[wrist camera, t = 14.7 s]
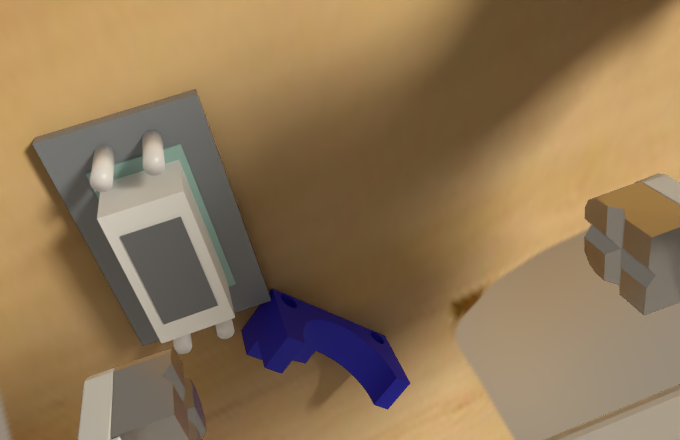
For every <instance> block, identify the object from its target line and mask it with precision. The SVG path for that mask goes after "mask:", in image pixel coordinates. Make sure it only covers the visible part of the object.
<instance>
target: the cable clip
mask: <svg viewBox="0 0 680 440" xmlns="http://www.w3.org/2000/svg"><path fill="white" fill-rule="evenodd" d="M269 295H270V299H271V301H268V302H266V303H263V304H260V306H259V307H258V308H257V310H256V311H255V312H254V314H253V315H252V317H251V318H250V319H249V321H248V322H247V323H246V325H245V326H244V327H243V329H242V330H241V331H242V336H243V340H244V345H245V349H246V353H247V355H250V356H252V357H255V358H258V359H261V360H263V363H264V367H265V368H267V369H270V370H273V371H276V372H279V373H283V371H284V370H285V369H286V368H287V366H288V365H289V364H290V362H291V361H298V362H302V363H306V362H307V361H308V359H309V358H310V357H311V356H312V354H313V353H314V352H315V351H318V352H320V353H322V354H324V355H326V356H328V357H330V358H331V359H333V360H334V361H336V362H337V363H339V364H340V365H341V366H343V367H344V368H345V369H346V370H348V371H349V372H350V373H351V374H352V375H353V376H354V377H355V378H356V379H357V380H358V381H359V383H360V384H361V385H362V386H363V387H364V389H365V390H366V392H367V393H368V395H369V396H370V398H371V400H372V402H373V404H374V405H376V406H379V407H382V408H385V409H389V407H390V406H391V405H392V404H393V403H394V402H395V400H396V399H397V398H398V397H399V396H400V395H401V393H402V392H403V391H404V390H405V389H406V388H407V386H408V385H409V384H410V382H409V380H408V378H407V376H406V374H405V372H404V371H403V369H402V367H401V365H400V363H399V361H398V359H397V358H396V356H395V354H394V352H393V350H392V348H391V346H390V344H389V343H388V341H387V339H386V337H385V336H384V335H381V334H379V333H377V332H374V331H372V330H370V329H367V328H365V327H362V326H360V325H358V324H355V323H353V322H351V321H348V320H346V319H343V318H341V317H339V316H336V315H334V314H332V313H329V312H327V311H325V310H322V309H320V308H317V307H315V306H313V305H310V304H308V303H306V302H303V301H301V300H298V299H296V298H294V297H291V296H289V295H287V294H284V293H282V292H280V291H277V290H275V289H271V291H270V292H269Z"/></svg>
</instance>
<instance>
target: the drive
mask: <svg viewBox="0 0 680 440" xmlns="http://www.w3.org/2000/svg"><path fill="white" fill-rule="evenodd" d="M97 220H98V222H99V224H100V226H101V228H102V230H103V232H104V234H105V235H106V237H107V239H108V241H109V243H110V245H111V247H112V249H113V251H114V253H115V255H116V257H117V259H118V261H119V263H120V264H121V266H122V268H123V270H124V272H125V274H126V276H127V278H128V280H129V282H130V284H131V286H132V288H133V290H134V292H135V293H136V295H137V297H138V299H139V301H140V303H141V305H142V307H143V309H144V311H145V313H146V315H147V317H148V319H149V321H150V322H151V324H152V326H153V328H154V330H155V332H156V334H157V336H158V338H159V340H160V342H161V344H162V343H165V342H168V341H171V340H174V339H176V338H179V337H182V336H185V335H188V334H191V333H193V332H196V331H199V330H202V329H205V328H208V327H210V326H213V325H216V324H219V323H222V322H225V321H227V320H230V319H233V318H235V314H234V310H233V305H232V301H231V296H230V291H229V287H228V282H227V278H226V276H225V273H224V271H223V268H222V266H221V263H220V261H219V258H218V256H217V253H216V251H215V248H214V246H213V243H212V241H211V238H210V236H209V233H208V231H207V228H206V226H205V223H204V221H203V218H202V216H201V213H200V211H199V208H198V206H197V203H196V201H195V198H194V196H193V193H192V191H191V188H190V186H189V183H188V181H187V178H186V176H185V173H184V171H183V168H182V166H181V163H180V161H179V160H176V161H173V162H169V163H166V164H165V169H164V171H163V172H162V173H161V174H159V175H155V176H153V175H149V174H147V173H146V172H145V171H141V172H137V173H134V174H131V175H128V176H125V177H122V178H118V179H115V180H113V185H112V187H111V189H110V190H108V191H106V192H100V197H99V205H98V214H97Z"/></svg>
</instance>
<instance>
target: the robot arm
mask: <svg viewBox="0 0 680 440" xmlns="http://www.w3.org/2000/svg"><path fill="white" fill-rule="evenodd" d="M585 219H586V220H587V221H588V222H589V223H590V224H591V227H590V228H589V230H588V232H587V233H586V235H585V237H584V249H585V250H584V251H585V254H586V256H587V259H588V261H589V264H590V266H591V267H592V268H593V270H594V271H595V273H596V274H597V275H598V276H600V277H601V278H602V279H603V280H604V281H607V282H611V283H614V284H618V285H619V292H620V295H621V296H622V297H623V298H624V299H626V300H627V301H628V302H629V303H630V304H631V305H632V306H634V307H635V308H636V309H637V310H638V311H639V312H641V313H642V314H643V315H647V314H650V313H652V312H655V311H658V310H661V309H664V308H666V307H669V306H672V305H674V304H678V303H680V182H678V181H677V180H675V179H673V178H671V177H670V176H668V175H665V174H656V175H653V176H650V177H648V178H645V179H642V180H640V181H637V182H635V183H634V184H631V185H628V186H625V187H623V188H620V189H617V190H614V191H612V192H609V193H606V194H603V195H601V196H598V197H595V198H592V199H590V200H588V202H587V204H586V207H585ZM205 432H206V425H205V418H204V414H203V410H202V406H201V402H200V399H199V397H198V394H197V391H196V389H195V387H194V385H193V383H192V381H191V380H189V379H187V378H185V377H184V372H183V363H182V361H181V359H180V357H179V356H178V354H177V352H176V350H174V349H173V348H170V349H167V350H164V351H161V352H158V353H155V354H152V355H149V356H146V357H143V358H140V359H137V360H134V361H131V362H128V363H125V364H122V365H119V366H117V367H116V368H112V369H109V370H106V371H103V372H100V373H97V374H94V375H91V376H88V377H87V379H86V380H85V382H84V385H83V394H82V403H81V413H80V422H79V431H78V440H203V439H202V438H203V436H204V434H205ZM545 440H680V384H679V385H676V386H674V387H671V388H669V389H666V390H664V391H661V392H659V393H657V394H655V395H652V396H649V397H647V398H644V399H642V400H640V401H637V402H635V403H632V404H630V405H627V406H625V407H623V408H620V409H618V410H615V411H613V412H610V413H608V414H605V415H603V416H601V417H598V418H596V419H594V420H591V421H589V422H586V423H583V424H581V425H579V426H576V427H574V428H571V429H569V430H566V431H564V432H562V433H559V434H557V435H554V436H552V437H549V438H547V439H545Z"/></svg>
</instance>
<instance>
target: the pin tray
mask: <svg viewBox="0 0 680 440" xmlns="http://www.w3.org/2000/svg"><path fill="white" fill-rule="evenodd" d="M32 145H33V146H34V148H35V150H36V152H37V154H38V156H39V157H40V159H41V161H42V163H43V165H44V166H45V168H46V170H47V172H48V174H49V176H50V177H51V179H52V181H53V183H54V185H55V187H56V188H57V190H58V192H59V194H60V196H61V198H62V199H63V201H64V203H65V205H66V207H67V208H68V210H69V212H70V214H71V216H72V218H73V219H74V221H75V223H76V225H77V227H78V229H79V230H80V232H81V234H82V236H83V238H84V240H85V241H86V243H87V245H88V247H89V249H90V250H91V252H92V254H93V256H94V258H95V260H96V261H97V263H98V265H99V267H100V269H101V271H102V272H103V274H104V276H105V278H106V280H107V282H108V283H109V285H110V287H111V289H112V291H113V292H114V294H115V296H116V298H117V300H118V302H119V303H120V305H121V307H122V309H123V311H124V313H125V314H126V316H127V318H128V320H129V322H130V324H131V325H132V327H133V329H134V331H135V333H136V334H137V336H138V338H139V340H140V342H141V344H142V345H143V346H144V345H147V344H150V343H153V342H156V341H158V340H159V338H158V336H157V334H156V332H155V330H154V328H153V326H152V324H151V322H150V321H149V319H148V317H147V315H146V313H145V311H144V309H143V307H142V305H141V303H140V301H139V299H138V297H137V295H136V293H135V292H134V290H133V288H132V286H131V284H130V282H129V280H128V278H127V276H126V274H125V272H124V270H123V268H122V266H121V264H120V263H119V261H118V259H117V257H116V255H115V253H114V251H113V249H112V247H111V245H110V243H109V241H108V239H107V237H106V235H105V234H104V232H103V230H102V228H101V226H100V224H99V222H98V220H97V214H98V205H99V197H100V192H106V191H108V190H110V189H111V187H112V185H113V180H115V179H118V178H122V177H125V176H128V175H131V174H134V173H137V172H141V171H145V172H146V173H147V174H149V175H153V176H155V175H159V174H161V173H162V172H163V171H164V169H165V164H166V163H169V162H173V161H176V160H179V161H180V163H181V166H182V168H183V171H184V173H185V176H186V178H187V181H188V183H189V186H190V188H191V191H192V193H193V196H194V198H195V201H196V203H197V206H198V208H199V211H200V213H201V216H202V218H203V221H204V223H205V226H206V228H207V231H208V233H209V236H210V238H211V241H212V243H213V246H214V248H215V251H216V253H217V256H218V258H219V261H220V263H221V266H222V268H223V271H224V273H225V276H226V278H227V282H228V287H229V291H230V296H231V301H232V305H233V310H234V314H235V313H237V312H240V311H243V310H246V309H249V308H252V307H254V306H257V305H260V304H263V303H266V302H268V301H271V299H270V295H269V292H268V289H267V287H266V284H265V281H264V278H263V275H262V273H261V270H260V267H259V264H258V261H257V259H256V256H255V253H254V250H253V248H252V245H251V242H250V239H249V236H248V234H247V231H246V228H245V225H244V222H243V220H242V217H241V214H240V211H239V209H238V206H237V203H236V200H235V197H234V195H233V192H232V189H231V186H230V183H229V181H228V178H227V175H226V172H225V169H224V167H223V164H222V161H221V158H220V156H219V153H218V150H217V147H216V144H215V142H214V139H213V136H212V133H211V130H210V128H209V125H208V122H207V119H206V116H205V114H204V111H203V108H202V105H201V103H200V100H199V97H198V94H197V91H196V89H195V90H192V91H188V92H185V93H182V94H178V95H175V96H172V97H168V98H165V99H162V100H159V101H155V102H152V103H149V104H145V105H142V106H139V107H135V108H132V109H129V110H125V111H122V112H119V113H115V114H112V115H109V116H106V117H102V118H99V119H96V120H92V121H89V122H86V123H82V124H79V125H76V126H72V127H69V128H66V129H62V130H59V131H56V132H52V133H49V134H46V135H43V136H39V137H36V138H34V141H33V144H32ZM215 326H216V331H217V336H218V337H219V338H221V339H228V338H230V337H232V336H233V335H234V332H235V330H234V325H233V321H232V319H230V320H227V321H225V322H222V323H219V324H216V325H215ZM173 342H174V350H176V352H177V353H178V354H186V353H188V352H190V351H191V349H192V340H191V334H188V335H185V336H182V337H179V338H176V339H174V340H173Z"/></svg>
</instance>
